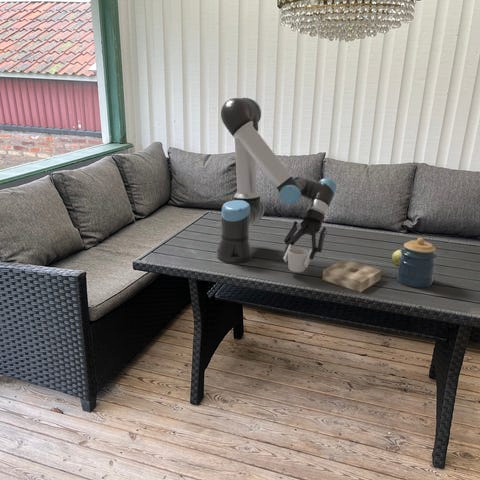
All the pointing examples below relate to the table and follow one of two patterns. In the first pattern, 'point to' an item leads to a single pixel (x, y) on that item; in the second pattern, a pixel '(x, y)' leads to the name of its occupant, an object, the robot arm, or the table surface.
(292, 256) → the cup
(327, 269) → the opening block
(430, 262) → the canister
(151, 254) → the table surface
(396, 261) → the tennis ball
